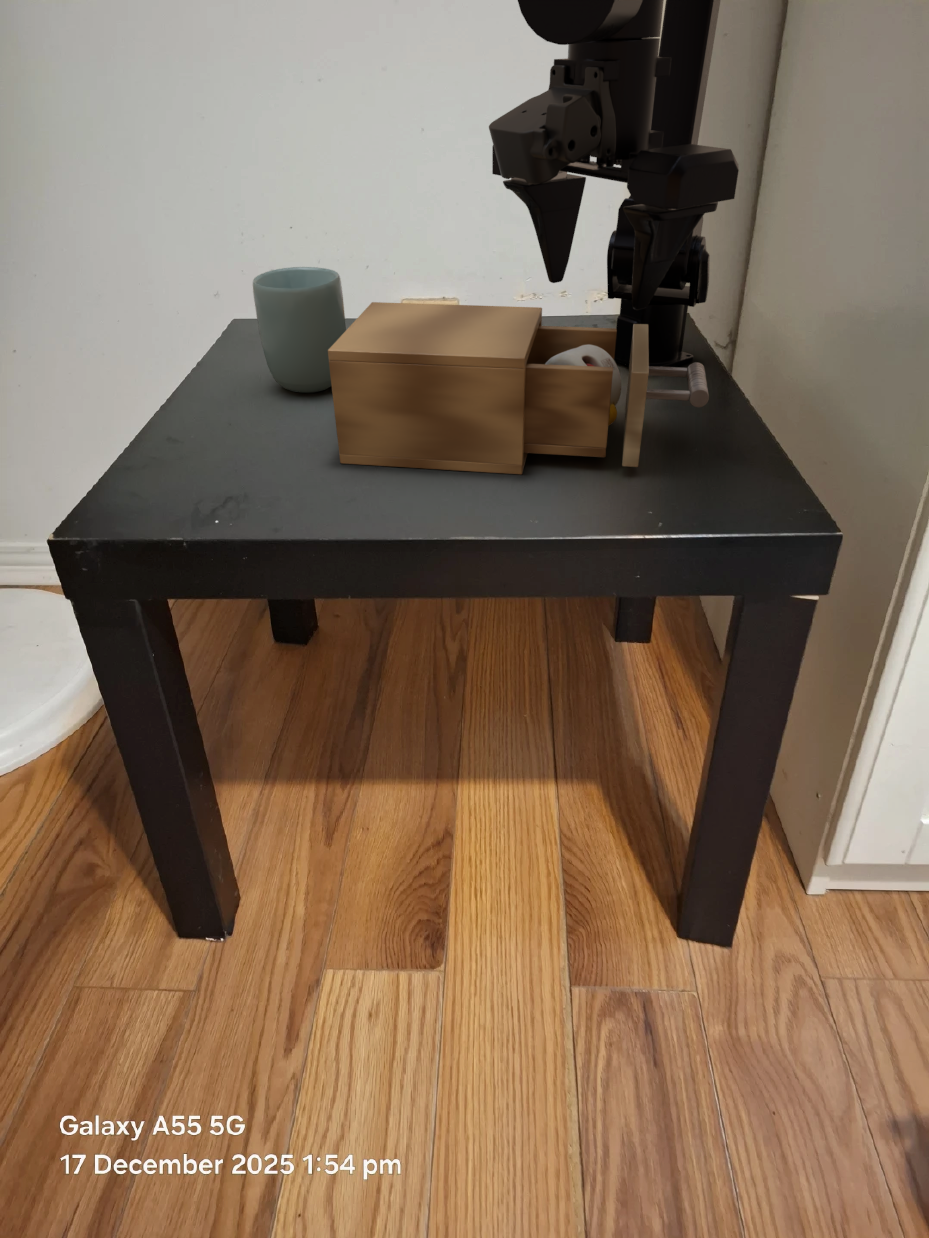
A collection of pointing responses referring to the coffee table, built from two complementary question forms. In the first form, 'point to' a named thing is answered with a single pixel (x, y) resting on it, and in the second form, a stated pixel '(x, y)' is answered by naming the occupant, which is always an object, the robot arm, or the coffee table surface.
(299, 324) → the cup
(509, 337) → the cabinet
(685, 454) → the coffee table surface
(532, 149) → the robot arm
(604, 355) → the roller toy
